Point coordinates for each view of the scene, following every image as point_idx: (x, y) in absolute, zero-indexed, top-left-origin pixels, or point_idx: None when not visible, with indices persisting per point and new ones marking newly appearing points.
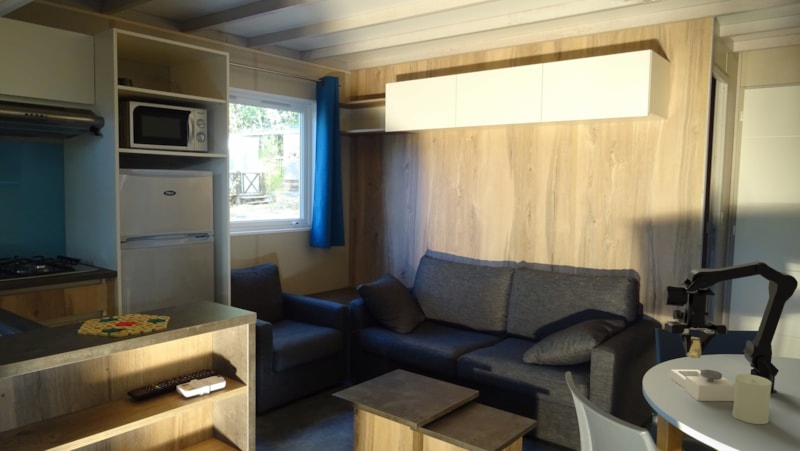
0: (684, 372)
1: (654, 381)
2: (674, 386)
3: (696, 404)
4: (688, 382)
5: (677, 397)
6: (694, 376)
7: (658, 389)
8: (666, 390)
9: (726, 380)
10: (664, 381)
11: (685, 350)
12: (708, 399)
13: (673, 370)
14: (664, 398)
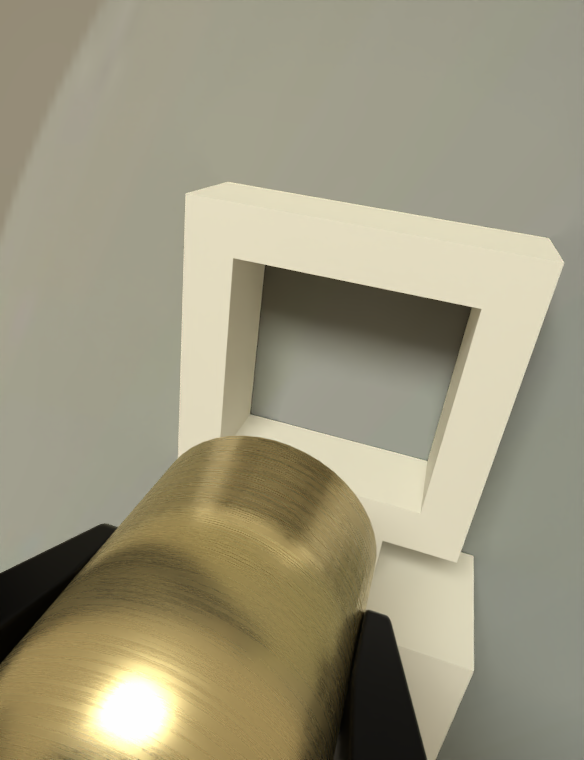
0: (328, 270)
1: (46, 245)
2: (158, 379)
3: None
4: None
5: (87, 529)
6: None
7: (20, 397)
8: (66, 426)
9: (425, 733)
10: (129, 262)
11: (80, 546)
12: None
13: (200, 232)
14: (8, 515)
